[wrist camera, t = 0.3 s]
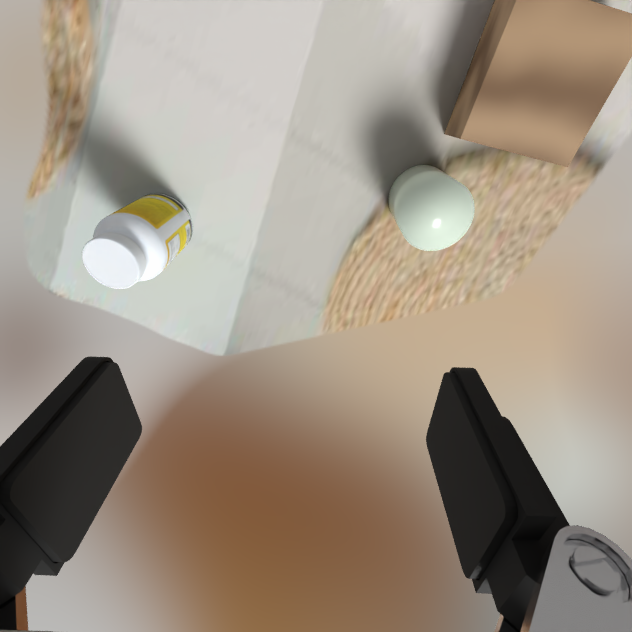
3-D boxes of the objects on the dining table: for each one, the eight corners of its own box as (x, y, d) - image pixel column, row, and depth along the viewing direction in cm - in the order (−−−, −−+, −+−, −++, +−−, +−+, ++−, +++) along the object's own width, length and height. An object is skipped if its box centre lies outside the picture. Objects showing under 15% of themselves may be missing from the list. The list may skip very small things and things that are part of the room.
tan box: (494, -2, 28) (524, -21, 23) (604, 32, 29) (652, 20, 24) (443, 133, 33) (460, 138, 29) (537, 158, 34) (567, 167, 30)
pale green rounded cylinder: (397, 159, 34) (412, 172, 28) (459, 170, 34) (486, 185, 28) (381, 222, 37) (391, 245, 32) (437, 231, 38) (458, 255, 32)
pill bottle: (128, 192, 37) (55, 226, 27) (188, 191, 36) (136, 225, 26) (146, 249, 40) (87, 298, 30) (200, 249, 40) (158, 298, 30)
